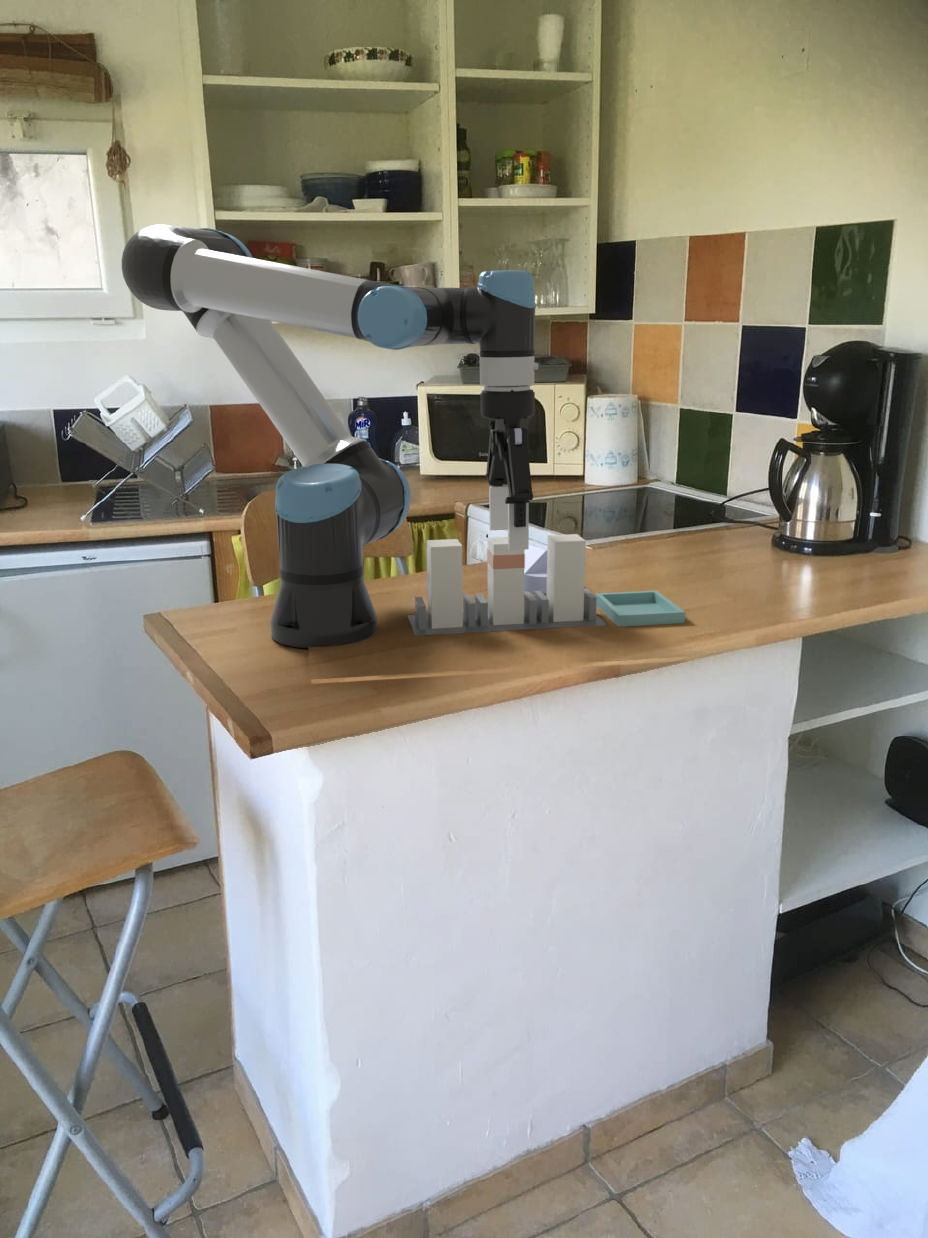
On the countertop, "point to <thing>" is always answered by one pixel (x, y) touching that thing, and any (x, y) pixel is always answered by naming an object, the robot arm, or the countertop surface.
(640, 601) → the tray
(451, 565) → the block
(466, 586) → the countertop surface
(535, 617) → the holder
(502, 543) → the block
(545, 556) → the wedge on round base
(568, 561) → the block
